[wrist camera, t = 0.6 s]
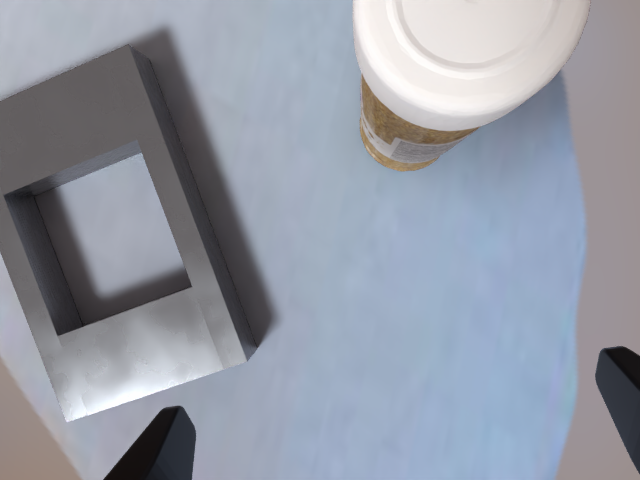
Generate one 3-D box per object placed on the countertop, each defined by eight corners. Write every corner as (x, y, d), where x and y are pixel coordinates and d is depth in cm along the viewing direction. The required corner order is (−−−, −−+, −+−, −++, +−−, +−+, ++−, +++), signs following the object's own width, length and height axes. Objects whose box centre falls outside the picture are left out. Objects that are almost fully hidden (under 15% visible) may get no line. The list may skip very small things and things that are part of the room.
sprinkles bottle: (358, 82, 22) (348, -126, 8) (453, 76, 21) (604, -154, 8) (360, 175, 22) (354, 119, 9) (454, 172, 21) (601, 106, 8)
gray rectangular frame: (257, 348, 23) (247, 361, 21) (91, 405, 24) (66, 422, 22) (149, 58, 23) (128, 44, 21) (-16, 130, 24) (-50, 123, 22)
